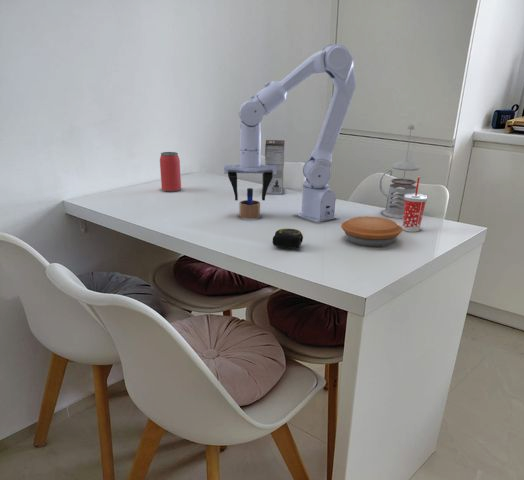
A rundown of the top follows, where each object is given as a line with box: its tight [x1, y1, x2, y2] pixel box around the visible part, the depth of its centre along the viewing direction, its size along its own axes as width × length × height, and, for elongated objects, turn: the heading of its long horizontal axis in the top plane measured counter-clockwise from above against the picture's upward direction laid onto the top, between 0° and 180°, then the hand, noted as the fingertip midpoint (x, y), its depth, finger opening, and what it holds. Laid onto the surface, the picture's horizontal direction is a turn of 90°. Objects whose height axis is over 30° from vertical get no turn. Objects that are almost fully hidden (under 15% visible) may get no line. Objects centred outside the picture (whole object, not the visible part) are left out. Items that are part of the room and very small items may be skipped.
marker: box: [246, 187, 254, 205], centre depth 155 cm, size 2×2×8 cm
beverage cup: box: [401, 176, 428, 233], centre depth 146 cm, size 6×6×14 cm
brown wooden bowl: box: [238, 199, 261, 219], centre depth 156 cm, size 6×6×4 cm
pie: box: [340, 215, 404, 248], centre depth 138 cm, size 16×16×5 cm
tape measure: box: [272, 228, 304, 250], centre depth 133 cm, size 7×7×4 cm
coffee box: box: [264, 139, 286, 195], centre depth 183 cm, size 9×6×16 cm
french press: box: [379, 124, 421, 219], centre depth 157 cm, size 10×12×25 cm
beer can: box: [159, 151, 182, 193], centre depth 182 cm, size 7×7×12 cm
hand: (249, 199), depth 154 cm, fingers open, 7 cm apart
